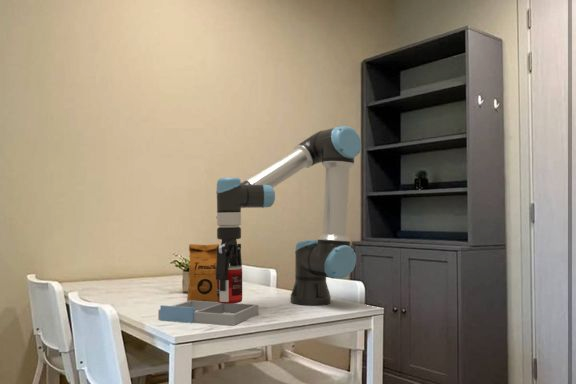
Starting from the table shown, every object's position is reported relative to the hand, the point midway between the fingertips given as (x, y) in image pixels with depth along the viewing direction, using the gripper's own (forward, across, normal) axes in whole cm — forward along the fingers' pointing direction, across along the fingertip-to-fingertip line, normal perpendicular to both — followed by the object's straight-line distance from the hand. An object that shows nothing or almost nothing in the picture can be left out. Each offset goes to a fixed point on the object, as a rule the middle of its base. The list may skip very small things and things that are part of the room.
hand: (229, 299), depth 164 cm
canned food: (+1, 0, 0) cm, 1 cm away
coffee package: (+6, -17, -18) cm, 25 cm away
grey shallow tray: (+6, +1, -7) cm, 9 cm away
